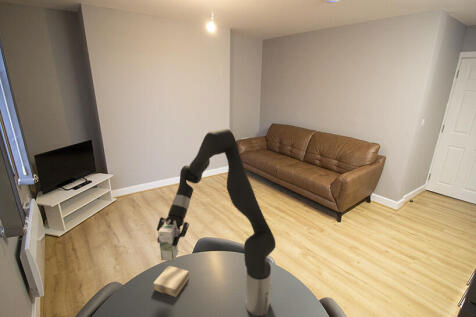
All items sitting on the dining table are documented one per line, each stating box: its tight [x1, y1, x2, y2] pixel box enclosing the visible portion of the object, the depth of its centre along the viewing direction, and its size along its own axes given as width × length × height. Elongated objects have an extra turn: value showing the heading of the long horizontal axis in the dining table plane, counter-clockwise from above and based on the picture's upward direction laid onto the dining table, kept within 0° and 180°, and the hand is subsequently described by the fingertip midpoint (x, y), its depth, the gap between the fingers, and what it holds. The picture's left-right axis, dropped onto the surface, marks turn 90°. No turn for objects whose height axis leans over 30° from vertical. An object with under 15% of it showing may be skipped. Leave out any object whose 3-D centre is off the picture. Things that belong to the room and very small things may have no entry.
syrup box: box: [157, 223, 179, 262], centre depth 98 cm, size 6×6×14 cm
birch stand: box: [153, 265, 190, 298], centre depth 104 cm, size 11×11×4 cm
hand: (166, 244), depth 97 cm, fingers closed on syrup box, 6 cm apart
